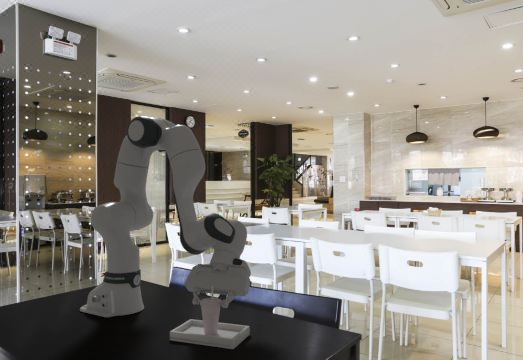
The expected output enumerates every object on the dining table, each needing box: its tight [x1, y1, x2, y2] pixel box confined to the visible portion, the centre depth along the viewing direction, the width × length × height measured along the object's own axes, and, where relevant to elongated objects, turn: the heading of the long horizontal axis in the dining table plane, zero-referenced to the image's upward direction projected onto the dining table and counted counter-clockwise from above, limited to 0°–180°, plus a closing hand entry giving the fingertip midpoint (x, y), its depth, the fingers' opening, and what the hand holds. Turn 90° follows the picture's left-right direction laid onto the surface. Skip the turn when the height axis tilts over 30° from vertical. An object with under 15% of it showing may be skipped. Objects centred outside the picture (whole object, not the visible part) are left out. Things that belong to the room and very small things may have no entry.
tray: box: [169, 318, 251, 350], centre depth 123 cm, size 20×12×2 cm, turn 70°
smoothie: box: [199, 286, 222, 336], centre depth 123 cm, size 6×6×14 cm
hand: (209, 305), depth 122 cm, fingers open, 8 cm apart
